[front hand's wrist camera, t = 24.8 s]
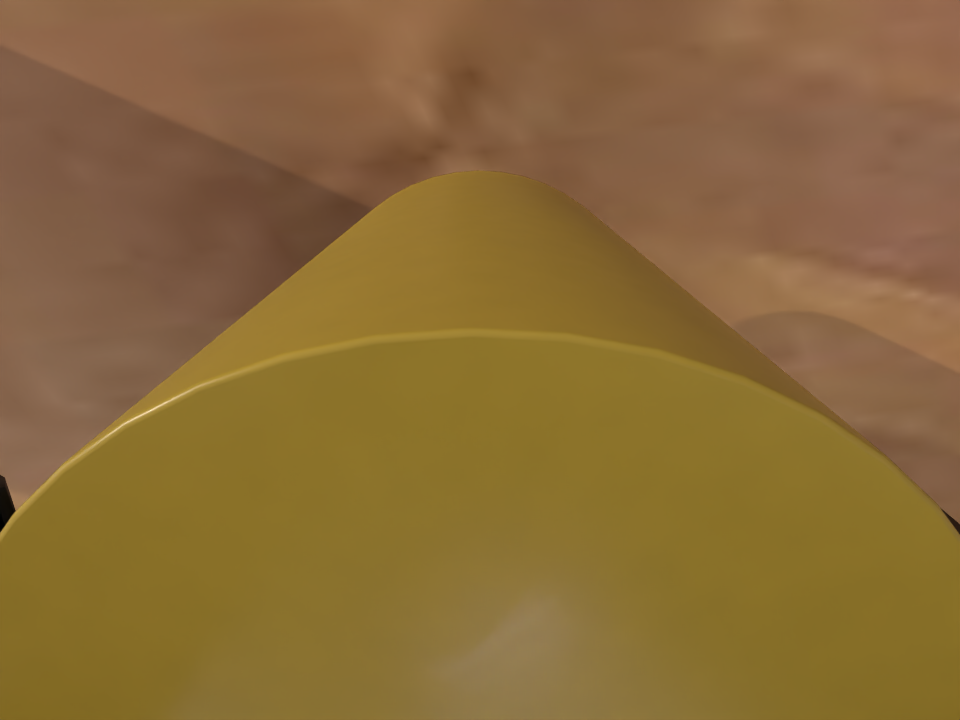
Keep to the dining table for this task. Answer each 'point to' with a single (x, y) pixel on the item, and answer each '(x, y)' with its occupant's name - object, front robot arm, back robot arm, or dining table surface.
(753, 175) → the dining table surface
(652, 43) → the dining table surface
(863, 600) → the canister
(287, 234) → the dining table surface
